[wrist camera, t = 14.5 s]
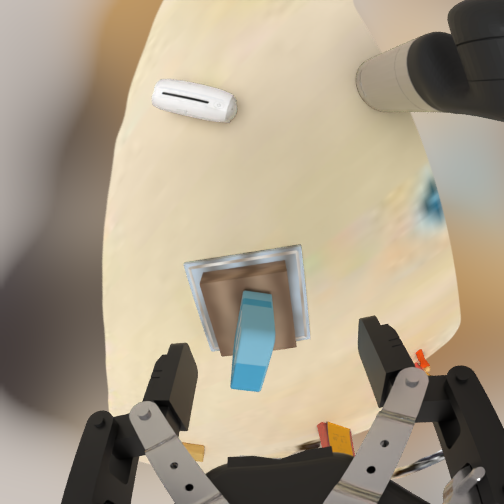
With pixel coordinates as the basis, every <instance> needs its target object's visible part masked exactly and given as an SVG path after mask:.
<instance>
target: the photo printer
mask: <svg viewBox="0 0 504 504" xmlns="http://www.w3.org/2000/svg"><path fill="white" fill-rule="evenodd" d="M236 102H237V100H236V98H235V97H234V95H233V94H231V93H229V92H227V91H224V90H221V89H218V88H215V87H211V86H207V85H203V84H198V83H194V82H188V81H182V80H175V79H161V80H159V81H158V82H157V84H156V85H155V88H154V92H153V95H152V104H153V106H155V107H157V108H159V109H161V110H165V111H168V112H172V113H176V114H180V115H185V116H189V117H193V118H198V119H203V120H208V121H214V122H226V123H229V122H230V120H231V119H232V118H234V116H235V115H236V113H237V105H236Z"/></svg>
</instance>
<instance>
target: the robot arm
mask: <svg viewBox="0 0 504 504" xmlns="http://www.w3.org/2000/svg"><path fill="white" fill-rule="evenodd" d="M448 24H449V27H450V31H451V34H452V35H451V34H448V33H443V32H432V33H429V34H425V35H423V36H421V37H418V38H416V39H413V40H411V41H409V42H407V43H404V44H402V45H399V46H397V47H395V48H393V49H390V50H388V51H386V52H384V53H382V54H380V55H377V56H375V57H373V58H371V59H369V60H367V61H365V62H364V63H363V64H362V65H361V66H360V68H359V69H358V72H357V76H356V85H357V89H358V92H359V94H360V96H361V97H362V99H363V100H364V101H365V102H366V103H367V104H368V105H369V106H370V107H372V108H373V109H376V110H378V111H383V112H446V113H455V114H466V115H472V116H479V117H483V118H488V119H493V120H497V121H502V122H504V0H464V1H462V2H460V3H458V4H457V5H455V6H454V7H453V8H452V9H451V10H450V11H449V14H448ZM358 350H359V355H360V358H361V360H362V363H363V366H364V368H365V371H366V373H367V376H368V379H369V382H370V384H371V387H372V390H373V393H374V395H375V398H376V401H377V404H378V407H379V408H381V407H383V408H382V410H381V411H379V413H378V414H377V416H376V418H375V420H374V422H373V424H372V426H371V428H370V430H369V432H368V434H367V436H366V437H365V439H364V441H363V443H362V445H361V447H360V448H359V450H358V452H357V453H356V455H355V456H352V455H349V454H345V453H339V452H333V451H332V446H328V447H323V448H317V449H311V450H305V451H303V452H300V453H297V454H294V455H291V456H288V457H285V458H282V459H272V458H264V457H257V456H243V457H228V463H227V464H224V465H221V466H219V467H216V468H214V469H212V470H211V471H209V472H208V473H206V474H205V473H204V472H203V470H202V469H201V468H200V467H199V465H198V464H197V463H196V461H195V460H194V459H193V457H192V456H191V455H190V453H189V452H188V450H187V449H186V448H185V446H184V445H183V443H182V442H181V441H180V439H179V438H178V436H179V431H188V427H189V421H190V415H191V410H192V405H193V399H194V394H195V388H196V383H197V378H198V370H197V366H196V363H195V360H194V358H193V356H192V353H191V351H190V348H189V346H188V344H187V343H176V344H171V345H170V347H169V350H168V353H167V355H162V356H161V357H160V358H159V359H158V360H157V362H156V363H155V366H154V369H153V372H152V375H151V379H150V381H149V384H148V387H147V390H146V392H145V395H144V398H143V401H142V402H140V403H138V404H136V405H135V406H134V407H133V408H132V409H131V411H130V413H129V414H125V415H121V416H116V417H113V416H112V415H111V414H110V413H109V412H107V411H98V412H96V413H94V414H92V415H91V416H90V418H89V419H88V421H87V423H86V426H85V429H84V432H83V435H82V437H81V441H80V443H79V446H78V449H77V452H76V455H75V458H74V461H73V465H72V468H71V471H70V474H69V478H68V481H67V485H66V488H65V491H64V495H63V498H62V502H61V504H131V498H132V492H133V487H134V481H135V475H136V470H137V464H138V460H139V456H142V455H146V456H147V458H148V460H149V461H150V463H151V465H152V467H153V468H154V470H155V472H156V474H157V475H158V477H159V478H160V480H161V482H162V483H163V485H164V487H165V488H166V490H167V491H168V493H169V494H170V496H171V497H172V499H173V501H174V502H175V503H174V504H430V503H428V502H427V501H424V500H423V499H421V498H420V497H418V496H416V495H415V494H412V493H411V492H410V491H408V490H406V489H405V488H403V487H401V486H400V485H398V484H397V483H395V482H393V481H392V480H390V478H391V476H392V474H393V472H394V470H395V468H396V466H397V464H398V462H399V459H400V457H401V455H402V453H403V451H404V448H405V446H406V444H407V441H408V439H409V436H410V434H411V431H412V429H413V426H414V423H417V422H433V424H434V427H435V430H436V433H437V436H438V438H439V441H440V444H441V447H442V450H443V453H444V456H445V460H446V463H447V466H448V469H449V473H450V476H451V480H450V481H449V482H448V484H447V485H446V486H445V488H444V491H443V504H504V428H503V426H502V424H501V422H500V420H499V418H498V416H497V414H496V412H495V410H494V408H493V406H492V404H491V402H490V400H489V398H488V396H487V394H486V393H485V391H484V389H483V387H482V385H481V384H480V381H479V380H478V378H477V376H476V374H475V373H474V371H472V369H470V368H468V367H466V366H455V367H453V368H452V369H450V370H449V372H448V373H447V375H441V376H430V375H427V374H426V372H424V371H423V370H422V369H419V368H416V367H415V365H414V363H413V361H412V359H411V357H410V356H409V354H408V352H407V350H406V348H405V347H404V345H403V343H402V341H401V339H399V336H398V334H397V332H396V331H395V329H393V328H392V327H391V326H389V325H388V324H384V325H380V323H379V321H378V319H377V317H376V316H370V317H365V318H361V319H359V329H358Z"/></svg>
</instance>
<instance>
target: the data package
mask: <svg viewBox="0 0 504 504" xmlns="http://www.w3.org/2000/svg"><path fill="white" fill-rule="evenodd" d="M274 343H275V323H274V312H273V301H272V295H271V294H266V293H259V292H252V291H243V295H242V300H241V306H240V311H239V317H238V323H237V328H236V334H235V340H234V348H233V360H232V373H231V389H238V390H246V391H256V392H259V391H261V388H262V385H263V382H264V378H265V375H266V372H267V368H268V365H269V361H270V358H271V355H272V351H273V348H274Z"/></svg>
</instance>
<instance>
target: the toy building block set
mask: <svg viewBox="0 0 504 504" xmlns="http://www.w3.org/2000/svg"><path fill="white" fill-rule="evenodd" d="M416 355H417V358H418V360H419V361H420V362H421V363H420V365H418V364H417V363H415V364H414V365H415V367H416V368H419V369H422V370H423V371H424V369H425V371H426V374H427V375H430V374H428V373H427V372H428V371H430V367H429V366H430V365H429V364H428V362H427V361H426V360H425V358H424V355H423V352H422V349H420V350H418V351H417V352H416ZM425 371H424V372H425ZM430 376H431V375H430ZM317 427H318V432H319V436H320V440H321V445H322V448H323V447H328V446H332V451H333V452H339V453H345V454H349V455H352V456H355V453H354V448H353V442H352V436H351V431H350V429H348V428H345V427H342V426H339V425H336V424H333V423H330V422H327V424H326V423H323V422H321V423H320V424H318V425H317Z"/></svg>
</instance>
